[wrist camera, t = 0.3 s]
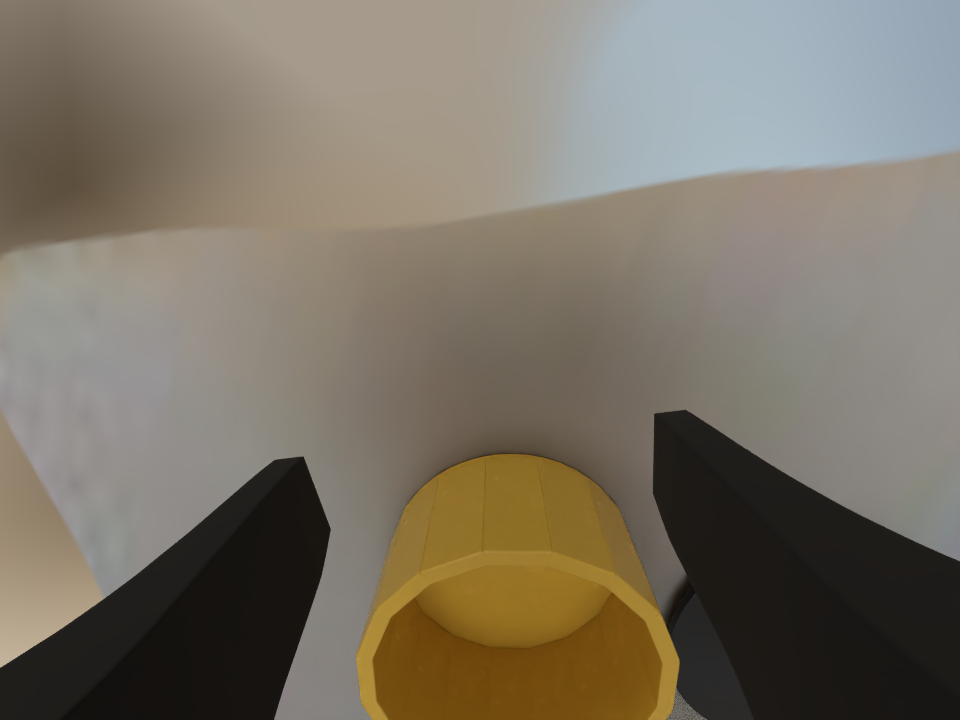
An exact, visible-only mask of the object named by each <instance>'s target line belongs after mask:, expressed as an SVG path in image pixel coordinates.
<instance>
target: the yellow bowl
mask: <svg viewBox="0 0 960 720" xmlns="http://www.w3.org/2000/svg"><path fill="white" fill-rule="evenodd" d="M356 662H357V671H358V679H359V688H360V696H361V703H362V705H363V707H364V708H365V710H366V711H367V713H368V714H369V716H370V717H371V719H372V720H666V719H667V717H668V716H669V715H670V713H671V712H672V710H673V706H674V699H675V692H676V685H677V678H678V672H679V665H680V661H679V657H678V654H677V652H676V649H675V647H674V644H673V642H672V639H671V637H670V634H669V632H668V629H667V627H666V624H665V622H664V619H663V617H662V614H661V612H660V609H659V607H658V604H657V602H656V599H655V597H654V594H653V592H652V589H651V587H650V585H649V582H648V580H647V577H646V575H645V572H644V570H643V567H642V565H641V562H640V560H639V557H638V555H637V552H636V550H635V547H634V545H633V542H632V540H631V538H630V535H629V533H628V530H627V528H626V525H625V523H624V520H623V518H622V515H621V513H620V510H619V508H618V507H617V506H616V505H615V504H614V503H613V502H612V500H611V499H610V497H609V496H608V495H607V494H606V493H605V492H604V491H603V490H602V489H601V488H600V487H599V486H598V485H597V484H596V483H594V482H593V481H592V480H591V479H589V478H588V477H587V476H585V475H583V474H582V473H580V472H578V471H577V470H575V469H573V468H571V467H569V466H566V465H564V464H562V463H560V462H556V461H553V460H550V459H547V458H543V457H537V456H532V455H523V454H498V455H490V456H484V457H479V458H475V459H472V460H469V461H465V462H462V463H460V464H458V465H456V466H453V467H451V468H449V469H447V470H445V471H444V472H442V473H440V474H439V475H437V476H435V477H434V478H433V479H432V480H430V481H429V482H428V483H427V484H425V485H424V486H423V487H422V488H421V489H420V490H419V491H418V492H417V493H416V494H415V495H414V496H413V498H412V499H411V501H410V502H409V503H408V505H406V507H405V509H404V511H403V513H402V515H401V517H400V519H399V522H398V525H397V528H396V530H395V533H394V535H393V538H392V540H391V543H390V546H389V549H388V552H387V555H386V559H385V562H384V565H383V569H382V572H381V575H380V578H379V582H378V585H377V588H376V591H375V595H374V598H373V601H372V605H371V608H370V611H369V614H368V618H367V621H366V624H365V628H364V631H363V634H362V637H361V641H360V644H359V647H358V651H357V654H356Z"/></svg>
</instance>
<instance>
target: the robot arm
mask: <svg viewBox="0 0 960 720" xmlns="http://www.w3.org/2000/svg"><path fill="white" fill-rule="evenodd" d="M653 495H654V497H655V500H656V503H657V506H658V509H659V512H660V515H661V518H662V521H663V523H664V526H665V529H666V531H667V534H668V537H669V539H670V541H671V544H672V546H673V548H674V550H675V552H676V554H677V556H678V558H679V560H680V562H681V564H682V566H683V568H684V570H685V572H686V574H687V576H688V578H689V580H690V582H691V584H692V586H693V588H694V590H695V592H696V594H697V596H698V598H699V600H700V602H701V604H702V606H703V608H704V610H705V612H706V614H707V616H708V618H709V620H710V622H711V624H712V626H713V628H714V630H715V631H716V633H717V635H718V637H719V639H720V641H721V643H722V645H723V647H724V649H725V652H726V654H727V656H728V658H729V660H730V663H731V665H732V667H733V669H734V671H735V674H736V676H737V678H738V681H739V683H740V686H741V688H742V691H743V693H744V696H745V698H746V701H747V703H748V706H749V709H750V711H751V714H752V716H753V719H754V720H960V561H958V560H955V559H953V558H950V557H948V556H946V555H943V554H941V553H939V552H937V551H934V550H932V549H930V548H928V547H925V546H923V545H921V544H919V543H916V542H914V541H912V540H910V539H908V538H906V537H904V536H902V535H900V534H898V533H896V532H893V531H891V530H889V529H887V528H885V527H883V526H881V525H879V524H877V523H875V522H873V521H871V520H869V519H867V518H865V517H863V516H861V515H859V514H857V513H855V512H853V511H851V510H849V509H847V508H845V507H843V506H841V505H840V504H838V503H836V502H834V501H832V500H831V499H829V498H827V497H825V496H823V495H822V494H820V493H818V492H816V491H814V490H813V489H811V488H809V487H807V486H806V485H804V484H802V483H800V482H799V481H797V480H795V479H793V478H792V477H790V476H788V475H787V474H785V473H783V472H782V471H780V470H778V469H777V468H775V467H774V466H772V465H770V464H769V463H767V462H765V461H764V460H762V459H761V458H759V457H758V456H756V455H754V454H753V453H751V452H750V451H748V450H747V449H745V448H744V447H742V446H740V445H739V444H737V443H736V442H734V441H733V440H731V439H730V438H728V437H727V436H725V435H724V434H722V433H721V432H719V431H718V430H716V429H715V428H713V427H712V426H710V425H709V424H707V423H706V422H704V421H703V420H701V419H699V418H698V417H696V416H695V415H693V414H692V413H690V412H688V411H687V410H681V411H672V412H664V413H656V414H654V464H653ZM330 530H331V529H330V526H329V523H328V521H327V518H326V515H325V513H324V510H323V507H322V505H321V502H320V499H319V497H318V494H317V491H316V489H315V486H314V483H313V481H312V478H311V475H310V473H309V470H308V467H307V465H306V462H305V459H304V457H295V458H286V459H278V460H274V461H273V462H272V463H270V464H269V465H268V466H266V467H265V468H264V469H262V470H261V471H260V472H259V473H258V474H256V475H255V476H254V477H253V478H252V479H250V480H249V481H248V482H247V483H246V484H245V485H243V486H242V487H241V488H240V489H239V490H238V491H236V492H235V493H234V494H233V495H232V496H231V497H230V498H228V499H227V500H226V501H225V502H224V503H223V504H221V505H220V506H219V507H218V508H217V509H216V510H215V511H213V512H212V513H211V514H210V515H209V516H208V517H206V518H205V519H204V520H203V521H202V522H201V523H199V524H198V525H197V526H196V527H195V528H194V529H192V530H191V531H190V532H189V533H188V534H186V535H185V536H184V537H183V538H181V539H180V540H179V541H178V542H177V543H175V544H174V545H173V546H172V547H170V548H169V549H168V550H167V551H165V552H164V553H163V554H162V555H160V556H159V557H158V558H157V559H155V560H154V561H153V562H152V563H150V564H149V565H148V566H147V567H146V568H144V569H143V570H142V571H141V572H139V573H138V574H137V575H136V576H134V577H133V578H132V579H130V580H129V581H128V582H126V583H125V584H124V585H122V586H121V587H120V588H118V589H117V590H116V591H114V592H113V593H112V594H110V595H109V596H107V597H106V598H105V599H103V600H102V601H100V602H99V603H98V604H96V605H95V606H94V607H92V608H91V609H89V610H88V611H87V612H85V613H84V614H82V615H81V616H79V617H78V618H76V619H75V620H74V621H72V622H71V623H69V624H68V625H66V626H65V627H64V628H62V629H60V630H59V631H57V632H56V633H55V634H53V635H51V636H50V637H48V638H47V639H45V640H43V641H42V642H40V643H39V644H37V645H36V646H34V647H32V648H31V649H29V650H28V651H26V652H25V653H23V654H22V655H20V656H18V657H17V658H15V659H14V660H12V661H11V662H9V663H7V664H6V665H4V666H3V667H1V668H0V720H274V718H275V714H276V711H277V708H278V704H279V701H280V698H281V694H282V691H283V688H284V685H285V682H286V679H287V676H288V673H289V671H290V668H291V665H292V662H293V659H294V656H295V653H296V650H297V647H298V644H299V641H300V639H301V636H302V633H303V630H304V627H305V624H306V621H307V618H308V615H309V612H310V609H311V606H312V603H313V600H314V597H315V594H316V591H317V588H318V585H319V582H320V579H321V576H322V571H323V566H324V562H325V557H326V552H327V547H328V541H329V536H330Z"/></svg>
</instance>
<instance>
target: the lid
mask: <svg viewBox="0 0 960 720" xmlns="http://www.w3.org/2000/svg"><path fill="white" fill-rule="evenodd" d="M668 632H669V634H670V637H671V639H672V642H673V644H674V647H675V649H676V652H677V654H678V657H679V661H680V665H679V672H678V678H677V685H676V687H677V689H678V691H679V693H680V694H681V695H682V697H683V698H684V699H685V701H686V702H687V703H688V704H689V705H690V706H691V707H692V708H693V709H694V710H695V711H696V712H698V713H699V714H700V715H702V716H703V717H704V718H706V719H707V720H754V719H753V716H752V714H751V711H750V709H749V706H748V703H747V701H746V698H745V696H744V693H743V691H742V688H741V686H740V683H739V681H738V678H737V676H736V674H735V671H734V669H733V667H732V665H731V663H730V660H729V658H728V656H727V654H726V652H725V649H724V647H723V645H722V643H721V641H720V639H719V637H718V635H717V633H716V631H715V630H714V628H713V626H712V624H711V622H710V620H709V618H708V616H707V614H706V612H705V610H704V608H703V606H702V604H701V602H700V600H699V598H698V596H697V594H696V592H695V590H694V588H693V586H691V587H690V588H689V589H688V591H687V592H686V593H685V595H684V596H683V597H682V599H681V600H680V602H679V604H678V605H677V607H676V609H675V611H674V613H673V615H672V618H671V621H670V623H669V627H668Z"/></svg>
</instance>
